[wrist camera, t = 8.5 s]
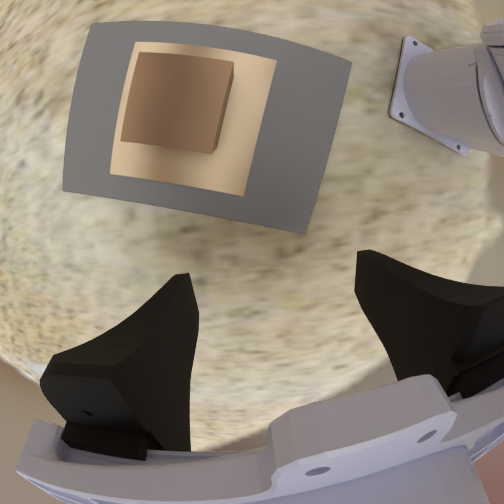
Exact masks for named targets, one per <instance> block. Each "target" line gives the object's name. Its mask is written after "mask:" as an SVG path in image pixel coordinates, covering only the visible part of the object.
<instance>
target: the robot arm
mask: <svg viewBox="0 0 504 504" xmlns="http://www.w3.org/2000/svg"><path fill="white" fill-rule="evenodd" d="M480 37H481V39H482V41H483V43H477V44H470V45H464V46H458V47H452V48H447V49H442V50H437V51H434V50H432V49H431V48H429V47H428V46H426V45H425V44H423V43H421V42H420V41H418V40H417V39H415V38H413V37H411V36H405V37H404V40H403V46H402V52H401V58H400V63H399V69H398V74H397V79H396V84H395V88H394V93H393V98H392V102H391V106H390V112H389V113H390V116H391V117H392V118H394V119H396V120H398V121H400V122H402V123H404V124H406V125H408V126H410V127H412V128H414V129H416V130H418V131H420V132H422V133H424V134H425V135H427V136H429V137H431V138H433V139H435V140H436V141H438V142H440V143H442V144H443V145H445V146H447V147H448V148H450V149H452V150H453V151H455V152H457V153H458V154H460V155H461V156H467V154H468V151H469V148H472V149H476V150H480V151H484V152H487V153H491V154H495V155H499V156H502V157H504V18H501V19H497V20H494V21H490V22H488V23H485V24H484V25H483V28H482V32H481V33H480ZM413 42H414V43H415V45H414V44H413ZM399 113H401V114H402V117H401V118H400V116H399ZM457 145H458V148H457ZM354 291H355V294H356V296H357V299H358V301H359V304H360V306H361V308H362V310H363V312H364V313H365V315H366V317H367V318H368V320H369V322H370V323H371V325H372V327H373V328H374V330H375V332H376V333H377V335H378V337H379V339H380V340H381V342H382V344H383V346H384V347H385V349H386V351H387V354H388V356H389V359H390V361H391V363H392V366H393V368H394V371H395V374H396V377H397V380H398V381H397V382H394V383H391V384H387V385H384V386H380V387H377V388H373V389H370V390H366V391H362V392H358V393H355V394H350V395H346V396H342V397H337V398H333V399H328V400H323V401H318V402H313V403H310V404H307V405H304V406H301V407H297V408H294V409H291V410H289V411H287V412H286V413H284V414H283V415H281V416H280V417H278V418H276V419H275V420H274V421H272V422H271V423H270V426H269V428H268V430H267V433H266V441H267V446H266V447H262V448H258V449H251V450H240V451H239V450H238V451H219V452H191V443H190V380H191V372H192V366H193V360H194V354H195V349H196V343H197V337H198V330H199V310H198V306H197V302H196V298H195V294H194V290H193V286H192V282H191V278H190V274H189V273H185V274H176V275H174V276H173V277H172V278H171V279H170V280H169V281H168V282H167V283H166V284H165V285H164V286H163V287H162V288H161V289H160V290H158V291H157V292H156V293H155V294H154V295H153V296H152V297H151V298H150V299H149V300H148V301H147V302H146V303H145V304H143V305H142V306H141V307H140V308H139V309H138V310H137V311H136V312H134V313H133V314H132V315H131V316H129V317H128V318H126V319H125V320H124V321H122V322H121V323H120V324H118V325H117V326H115V327H113V328H112V329H110V330H108V331H107V332H105V333H103V334H102V335H100V336H98V337H96V338H94V339H92V340H90V341H88V342H86V343H84V344H82V345H79V346H77V347H74V348H72V349H69V350H66V351H63V352H61V353H58V354H55V355H53V357H52V358H51V360H50V362H49V364H48V366H47V368H46V369H45V371H44V373H43V375H42V377H41V379H40V387H41V389H42V392H43V394H44V395H45V397H46V398H47V400H48V401H49V402H50V403H51V405H52V406H53V407H54V408H55V409H56V410H57V411H58V413H59V414H60V415H61V416H62V417H63V418H64V419H65V420H66V421H67V422H66V425H65V428H62V427H61V426H59V425H57V424H54V423H50V422H46V421H42V420H39V419H35V420H34V423H33V425H32V428H31V430H30V432H29V435H28V437H27V440H26V442H25V445H24V447H23V450H22V453H21V455H20V459H19V461H18V464H17V467H16V472H17V473H18V474H20V475H21V476H22V477H24V478H25V479H27V480H28V481H30V482H32V483H33V484H34V485H36V486H37V487H39V488H40V489H42V490H43V491H45V492H47V493H48V494H50V495H52V496H54V497H55V498H57V499H59V500H61V501H64V502H67V503H69V504H490V503H489V501H488V498H487V496H486V493H485V491H484V488H483V486H482V483H481V481H480V479H479V477H478V475H477V472H476V470H475V468H474V466H473V463H472V462H474V461H476V460H477V459H478V458H480V457H481V456H482V455H484V454H485V453H487V452H488V451H489V450H491V449H492V448H493V447H495V446H496V445H497V444H499V443H500V442H501V441H502V440H503V439H504V287H497V286H482V285H473V284H467V283H462V282H457V281H453V280H449V279H445V278H442V277H438V276H435V275H432V274H429V273H426V272H423V271H421V270H418V269H416V268H413V267H411V266H409V265H406V264H404V263H402V262H399V261H397V260H395V259H393V258H390V257H388V256H386V255H384V254H381V253H379V252H376V251H373V250H363V251H357V263H356V277H355V289H354Z"/></svg>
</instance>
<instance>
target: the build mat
mask: <svg viewBox="0 0 504 504" xmlns="http://www.w3.org/2000/svg"><path fill="white" fill-rule="evenodd" d="M135 42H160V43H175V44H186V45H196V46H204V47H211V48H218V49H224V50H230V51H236V52H241V53H246V54H251V55H256V56H260V57H264V58H269V59H273V60H277V63H276V67H275V70H274V74H273V78H272V82H271V86H270V90H269V94H268V98H267V102H266V106H265V110H264V114H263V118H262V122H261V126H260V130H259V134H258V138H257V142H256V146H255V150H254V154H253V159H252V163H251V167H250V171H249V175H248V180H247V184H246V188H245V192H244V196H239V195H234V194H229V193H224V192H218V191H213V190H208V189H202V188H197V187H191V186H186V185H180V184H174V183H168V182H162V181H155V180H149V179H143V178H136V177H129V176H122V175H115V174H110V167H111V158H112V150H113V143H114V136H115V130H116V124H117V118H118V112H119V107H120V102H121V97H122V92H123V88H124V83H125V79H126V75H127V71H128V67H129V63H130V59H131V56H132V52H133V49H134V45H135ZM351 65H352V62H350V61H347V60H345V59H342V58H340V57H337V56H334V55H332V54H329V53H326V52H323V51H320V50H317V49H314V48H311V47H308V46H305V45H301V44H298V43H294V42H291V41H287V40H284V39H280V38H276V37H272V36H268V35H263V34H259V33H254V32H249V31H244V30H239V29H233V28H227V27H220V26H213V25H205V24H195V23H184V22H167V21H121V22H105V23H94V24H91V27H90V30H89V33H88V37H87V40H86V43H85V46H84V50H83V53H82V57H81V61H80V65H79V69H78V73H77V77H76V82H75V86H74V91H73V97H72V102H71V108H70V114H69V120H68V128H67V136H66V145H65V155H64V169H63V191H65V192H72V193H79V194H86V195H92V196H99V197H105V198H111V199H118V200H124V201H130V202H136V203H142V204H148V205H154V206H160V207H165V208H171V209H177V210H182V211H188V212H193V213H199V214H204V215H210V216H215V217H220V218H225V219H231V220H236V221H241V222H246V223H251V224H256V225H261V226H266V227H271V228H276V229H281V230H286V231H291V232H295V233H300V234H305V233H306V230H307V227H308V224H309V221H310V217H311V214H312V211H313V207H314V204H315V201H316V197H317V194H318V191H319V187H320V184H321V180H322V177H323V173H324V170H325V166H326V163H327V159H328V156H329V152H330V148H331V145H332V141H333V137H334V134H335V130H336V126H337V122H338V118H339V114H340V110H341V106H342V102H343V98H344V94H345V90H346V86H347V82H348V78H349V73H350V69H351Z"/></svg>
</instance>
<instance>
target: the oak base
mask: <svg viewBox="0 0 504 504" xmlns="http://www.w3.org/2000/svg"><path fill="white" fill-rule="evenodd" d="M139 52H154V53H170V54H181V55H191V56H199V57H207V58H214V59H220V60H226V61H232V62H234V79H233V83H232V86H231V90H230V95H229V99H228V103H227V107H226V111H225V115H224V120H223V124H222V128H221V133H220V137H219V142H218V146H217V148H216V150H215V151H214V152H213V153H212V154H207V153H201V152H195V151H189V150H183V149H176V148H170V147H163V146H155V145H148V144H139V143H131V142H121V141H120V140H121V133H122V127H123V121H124V115H125V110H126V105H127V100H128V95H129V91H130V86H131V82H132V77H133V73H134V69H135V65H136V62H137V58H138V54H139ZM276 63H277V60H273V59H269V58H264V57H260V56H256V55H251V54H246V53H241V52H236V51H230V50H224V49H218V48H211V47H204V46H196V45H186V44H175V43H160V42H135V45H134V49H133V52H132V56H131V59H130V63H129V67H128V71H127V75H126V79H125V83H124V88H123V92H122V97H121V102H120V107H119V112H118V118H117V124H116V130H115V136H114V143H113V150H112V158H111V167H110V174H115V175H122V176H129V177H136V178H143V179H149V180H155V181H162V182H168V183H174V184H180V185H186V186H191V187H197V188H202V189H208V190H213V191H218V192H224V193H229V194H234V195H239V196H244V192H245V188H246V184H247V180H248V175H249V171H250V167H251V163H252V159H253V154H254V150H255V146H256V142H257V138H258V134H259V130H260V126H261V122H262V118H263V114H264V110H265V106H266V102H267V98H268V94H269V90H270V86H271V82H272V78H273V74H274V70H275V67H276Z"/></svg>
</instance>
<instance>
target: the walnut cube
mask: <svg viewBox="0 0 504 504" xmlns="http://www.w3.org/2000/svg"><path fill="white" fill-rule="evenodd" d="M233 79H234V62H232V61H226V60H220V59H214V58H207V57H199V56H191V55H181V54H170V53H154V52H139V54H138V58H137V62H136V65H135V69H134V73H133V77H132V82H131V86H130V91H129V95H128V100H127V105H126V110H125V115H124V121H123V127H122V133H121V140H120V141H121V142H131V143H139V144H148V145H155V146H163V147H170V148H176V149H183V150H189V151H195V152H201V153H207V154H212V153H213V152H214V151H215V150H216V148H217V146H218V142H219V137H220V133H221V128H222V124H223V120H224V115H225V111H226V107H227V103H228V99H229V95H230V90H231V86H232V83H233Z"/></svg>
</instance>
